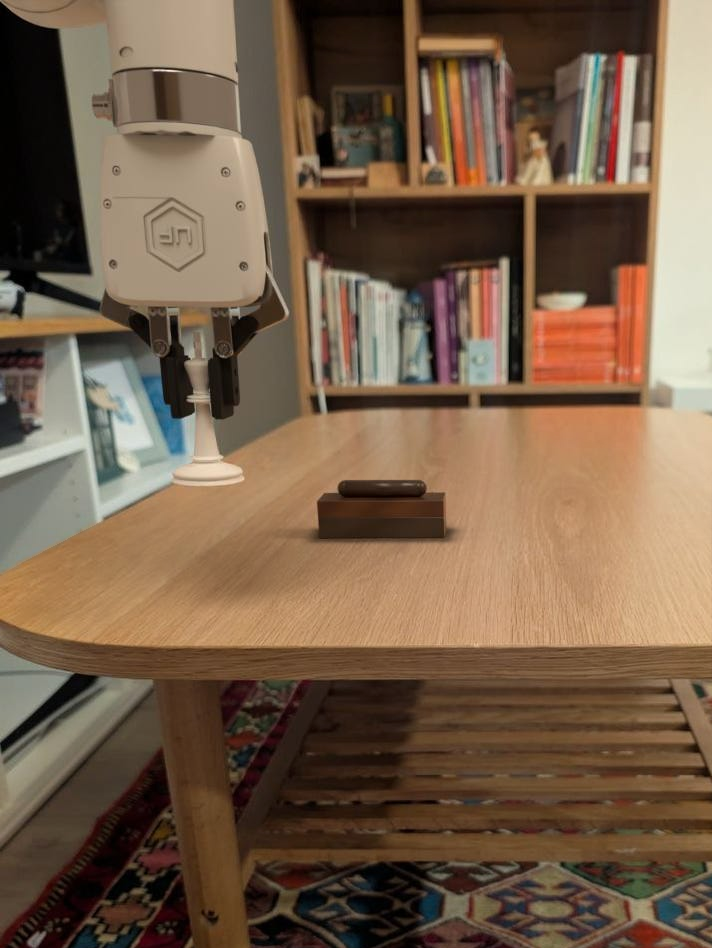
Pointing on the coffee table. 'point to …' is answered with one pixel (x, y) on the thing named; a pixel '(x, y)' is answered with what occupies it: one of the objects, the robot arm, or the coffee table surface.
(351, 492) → the brush
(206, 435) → the chess piece
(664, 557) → the coffee table surface
